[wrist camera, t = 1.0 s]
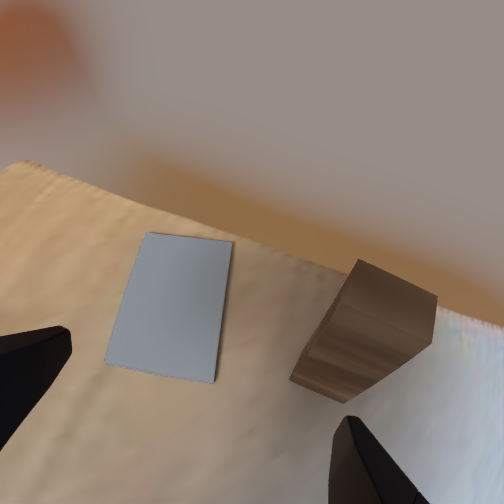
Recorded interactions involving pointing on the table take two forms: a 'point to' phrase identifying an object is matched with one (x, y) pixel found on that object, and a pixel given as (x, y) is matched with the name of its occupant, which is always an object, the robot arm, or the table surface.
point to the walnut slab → (366, 334)
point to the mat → (172, 308)
